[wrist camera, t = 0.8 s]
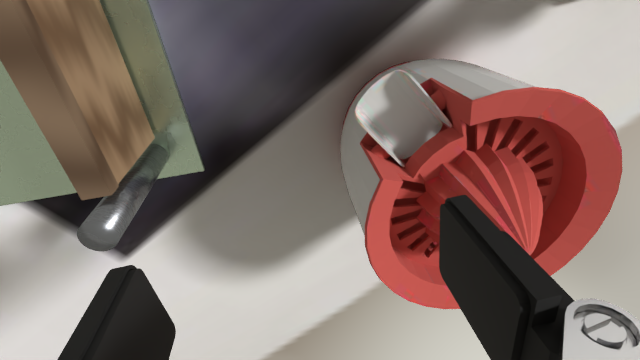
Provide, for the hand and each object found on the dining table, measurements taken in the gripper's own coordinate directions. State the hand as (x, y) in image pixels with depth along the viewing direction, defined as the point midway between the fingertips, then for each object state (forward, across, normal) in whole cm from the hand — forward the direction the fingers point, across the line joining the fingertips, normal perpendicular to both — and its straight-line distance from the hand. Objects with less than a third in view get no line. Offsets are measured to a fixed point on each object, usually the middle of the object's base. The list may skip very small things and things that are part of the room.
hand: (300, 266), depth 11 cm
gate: (+23, +13, -8) cm, 27 cm away
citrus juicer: (+24, -11, +6) cm, 27 cm away
